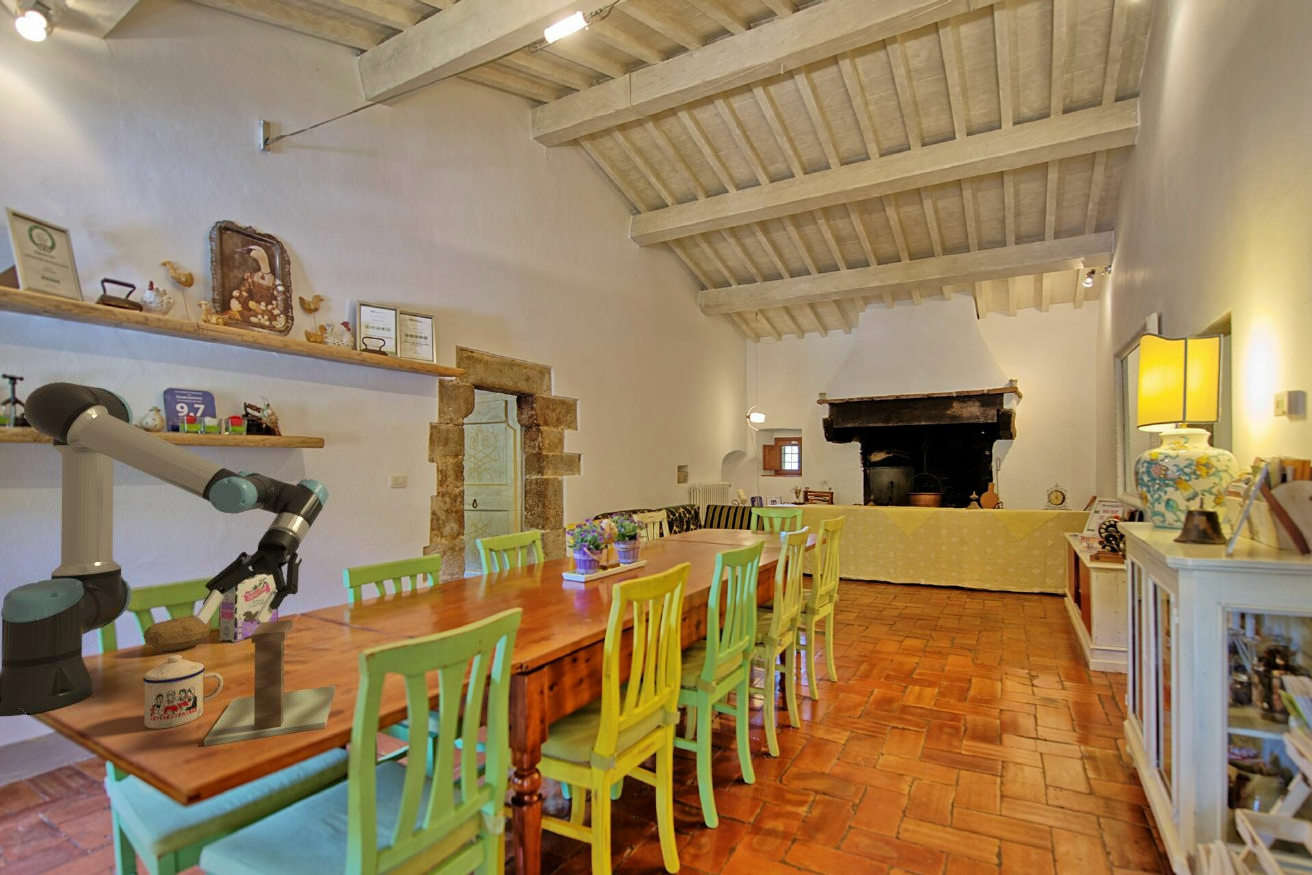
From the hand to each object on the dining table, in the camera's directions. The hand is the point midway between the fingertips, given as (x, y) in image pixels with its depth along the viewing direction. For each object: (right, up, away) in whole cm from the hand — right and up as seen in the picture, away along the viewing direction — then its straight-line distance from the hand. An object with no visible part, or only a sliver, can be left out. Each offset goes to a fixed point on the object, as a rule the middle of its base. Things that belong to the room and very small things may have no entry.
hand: (229, 621), depth 130 cm
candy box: (-25, -17, +45) cm, 54 cm away
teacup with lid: (-1, -15, -11) cm, 18 cm away
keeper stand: (+16, -15, -10) cm, 24 cm away
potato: (-35, -17, +33) cm, 51 cm away
